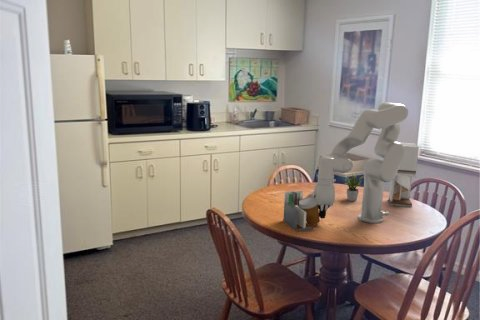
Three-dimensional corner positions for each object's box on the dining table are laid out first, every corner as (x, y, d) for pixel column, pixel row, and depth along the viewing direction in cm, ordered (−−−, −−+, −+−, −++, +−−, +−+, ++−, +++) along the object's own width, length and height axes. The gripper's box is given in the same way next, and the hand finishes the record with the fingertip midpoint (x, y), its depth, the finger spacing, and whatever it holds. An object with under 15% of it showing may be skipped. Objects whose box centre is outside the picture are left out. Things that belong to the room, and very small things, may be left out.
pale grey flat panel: (294, 219, 205) (295, 192, 202) (305, 228, 193) (307, 200, 190) (292, 219, 205) (294, 192, 202) (303, 228, 193) (305, 200, 190)
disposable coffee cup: (326, 218, 200) (321, 196, 197) (316, 228, 194) (310, 206, 191) (310, 216, 207) (305, 195, 203) (300, 226, 201) (294, 204, 197)
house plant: (368, 204, 234) (371, 176, 231) (344, 203, 234) (346, 176, 231) (361, 197, 248) (364, 171, 245) (339, 196, 248) (341, 170, 245)
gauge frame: (300, 219, 207) (302, 190, 204) (314, 230, 193) (316, 199, 190) (282, 220, 205) (284, 191, 202) (295, 231, 190) (297, 201, 187)
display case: (390, 205, 234) (397, 145, 227) (388, 199, 244) (394, 142, 237) (411, 207, 231) (418, 146, 224) (408, 201, 241) (415, 143, 234)
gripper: (335, 179, 203) (331, 214, 207) (308, 180, 199) (304, 215, 203) (343, 183, 196) (339, 219, 200) (315, 184, 192) (311, 221, 196)
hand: (321, 217), depth 201 cm, fingers closed
